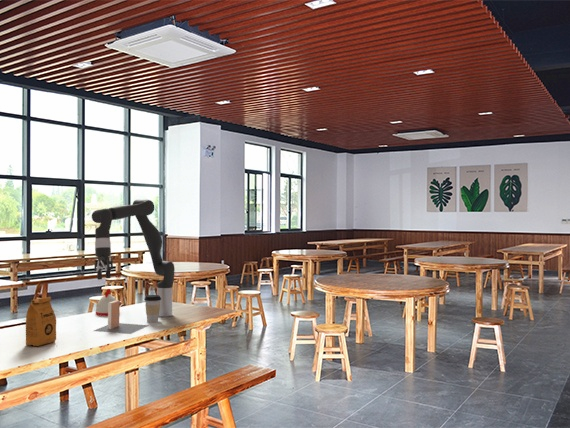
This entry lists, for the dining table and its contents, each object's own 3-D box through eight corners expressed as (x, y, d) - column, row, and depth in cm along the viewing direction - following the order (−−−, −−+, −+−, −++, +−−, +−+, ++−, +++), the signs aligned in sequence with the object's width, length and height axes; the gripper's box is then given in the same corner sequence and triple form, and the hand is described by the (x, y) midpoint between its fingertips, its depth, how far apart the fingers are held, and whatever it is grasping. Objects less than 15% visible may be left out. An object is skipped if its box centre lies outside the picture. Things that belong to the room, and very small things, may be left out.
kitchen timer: (122, 311, 322) (122, 287, 321) (115, 315, 308) (115, 291, 308) (100, 311, 321) (100, 287, 321) (92, 315, 307) (92, 290, 307)
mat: (92, 331, 268) (92, 330, 268) (113, 323, 287) (113, 322, 287) (130, 334, 263) (130, 333, 263) (149, 326, 282) (149, 325, 282)
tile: (107, 328, 272) (108, 302, 272) (115, 325, 280) (116, 300, 280) (111, 329, 272) (111, 303, 272) (119, 325, 280) (119, 300, 279)
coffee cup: (156, 324, 287) (156, 297, 287) (141, 323, 289) (141, 296, 289) (163, 320, 296) (164, 295, 296) (148, 319, 298) (149, 294, 298)
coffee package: (59, 342, 246) (60, 296, 246) (37, 348, 235) (37, 300, 235) (45, 339, 250) (45, 295, 250) (22, 345, 239) (23, 298, 239)
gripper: (116, 245, 261) (117, 277, 259) (102, 248, 270) (103, 279, 268) (103, 245, 255) (104, 278, 253) (89, 248, 264) (90, 280, 262)
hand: (103, 278), depth 260 cm, fingers open, 8 cm apart
